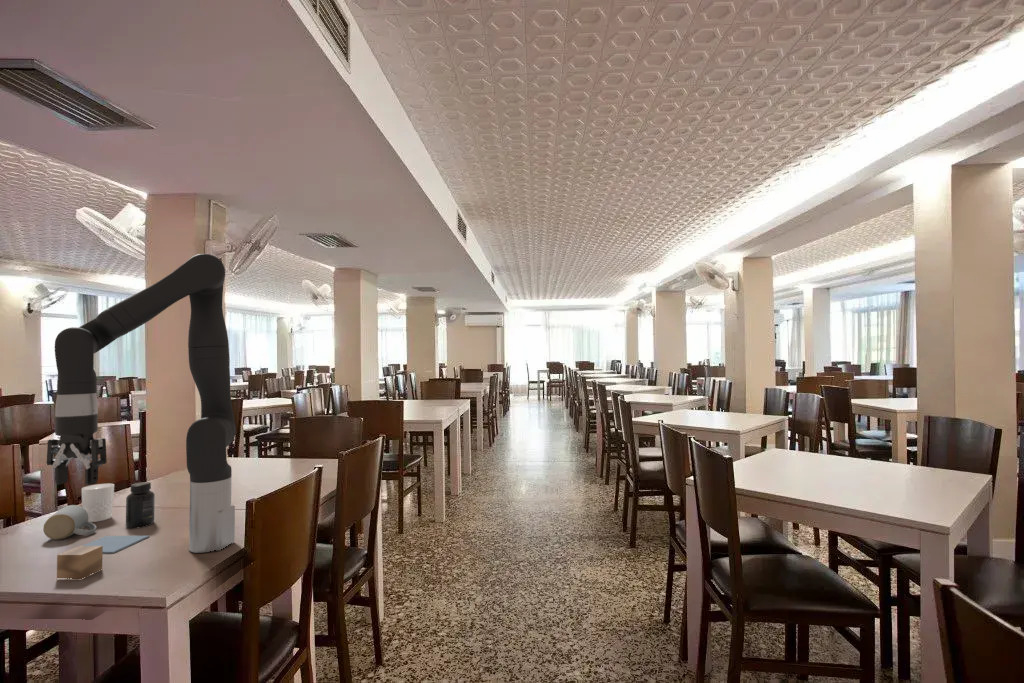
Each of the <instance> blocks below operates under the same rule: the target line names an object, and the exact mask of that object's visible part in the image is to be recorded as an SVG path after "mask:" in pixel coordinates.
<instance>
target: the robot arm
mask: <svg viewBox="0 0 1024 683" xmlns="http://www.w3.org/2000/svg"><path fill="white" fill-rule="evenodd" d="M225 278H226V269H225V265H224V263H223V262H222V260H221V259H219V257H217V256H215V255H213V254H210V253H198V254H195V255H192V257H190V258H189V259H188V260H186V261H185V262H184V263H183V264H181V265H180V266H179V267H178V268H176V269H174V271H172V272H171V273H169V274H167V275H166V276H164V277H163V278H161V279H160V280H159V281H156V282H155V283H154V284H152V285H150V286H148V287H146V288H144V289H142V290H141V291H139V292H137V293H134V294H133V295H131V296H129V297H127V298H125V299H124V300H121V301H119V302H118V303H115V304H114V305H112V306H110V307H108V308H106V309H104V310H103V311H101V312H100V313H99V314H97V316H96V317H95V318H94V319H91V320H90V321H88V322H86V323H84V324H83V325H81V326H78V327H76V326H75V327H73V326H71V327H67V328H65V329H62V331H60V332H59V333H58V334H57V336H56V338H55V340H54V357H55V358H54V359H55V363H56V364H55V365H56V370H57V379H56V380H57V382H56V401H55V408H54V409H55V410H54V411H55V415H54V419H55V420H54V434H55V435H56V436H58V437H56V438H52V439H51V438H50V439H48V440H47V447H46V448H47V450H46V465H47V466H52V468H54V481H55V485H63V484H64V485H65V484H67V483H68V481H69V466H68V465H69V463H70V461H71V460H72V459H77V460H78V461H79V462H82V464H83V465H84V467H85V470H84V471H85V472H84V473H85V474H84V475H85V476H84V484H85V485H86V486H91V485H97V482H98V480H99V467H100V466H103V465H104V464H107V440H106V438H105V437H101V438H94V434H95V433H97V432H98V430H99V429H98V428H99V425H98V424H99V422H98V421H99V402H98V401H99V400H98V397H97V392H98V391H97V386H98V385H97V383H98V382H97V379H98V378H97V372H96V370H95V369H94V360H95V354H96V353H97V352H99V351H101V350H103V349H105V347H107V346H109V345H110V344H112V343H113V342H114V341H115V340H118V339H119V338H120V337H123V336H125V335H127V334H128V333H130V332H132V331H134V330H135V329H137V328H139V327H141V326H143V325H145V324H146V323H148V322H149V321H151V320H153V319H154V318H155V317H157V316H158V315H159V314H162V312H164V311H165V310H166V309H167V308H169V307H171V306H172V305H174V304H176V303H177V302H178V301H180V300H183V299H184V298H186V297H188V296H189V297H188V298H189V303H190V318H189V319H190V320H189V326H188V334H187V335H188V338H187V339H188V340H187V348H188V363H189V364H188V365H189V370H190V373H191V376H192V379H193V381H194V383H195V385H196V388H197V392H198V394H199V396H200V410H201V411H200V418H199V419H197V420H196V421H194V422H192V423H191V425H190V426H189V428H188V429H187V432H186V433H187V434H186V440H185V452H186V453H185V454H186V457H185V458H186V468H187V472H188V473H189V528H188V529H189V530H188V531H189V536H188V537H189V540H188V542H189V543H188V548H189V550H188V551H189V552H191V553H195V554H196V553H198V554H201V553H202V554H203V553H210V551H211V552H215V551H214V550H216V551H222V550H224V549H226V548H227V547H229V546H230V545H229V544H231V543H232V544H234V543H235V542H236V541H235V540H236V539H235V537H236V536H235V535H236V534H235V533H236V531H235V530H236V529H235V528H236V527H235V526H236V522H235V521H236V519H235V518H236V516H235V515H236V506H235V505H233V504H232V466H231V465H230V464H229V463H228V461H227V460H228V459H227V447H228V446H230V445H231V444H232V442H233V441H234V440H235V437H236V433H237V432H236V431H237V430H236V428H237V427H236V420H235V415H234V411H233V405H232V404H233V403H232V398H231V370H230V368H231V367H230V364H231V363H230V362H231V361H230V347H229V346H230V343H229V335H228V330H227V326H226V321H225V316H224V312H223V300H224V299H223V296H224V294H223V293H224V286H225V285H224V283H225ZM99 456H100V458H99ZM234 541H235V542H234ZM233 542H234V543H233ZM232 544H231V545H232ZM228 545H229V546H228ZM226 546H227V547H226ZM225 547H226V548H225ZM223 548H224V549H223ZM221 549H222V550H221Z"/></svg>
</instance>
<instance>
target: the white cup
mask: <svg viewBox="0 0 1024 683" xmlns="http://www.w3.org/2000/svg"><path fill="white" fill-rule="evenodd" d="M114 496H115V484H114V483H98V484H97V483H96V484H92V485H86V486H83V487H82V488H81V507H82V508H84V509H85V510H86V511H87V513H88V521H89V522H91V523H96V522H102V521H106V520H109V519H111V518H112V516H113V515H112V514H113V507H114V505H113V504H114Z"/></svg>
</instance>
